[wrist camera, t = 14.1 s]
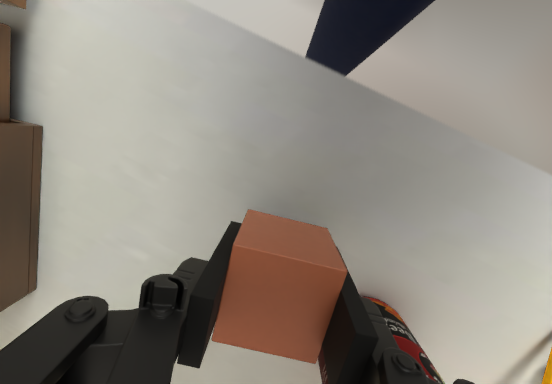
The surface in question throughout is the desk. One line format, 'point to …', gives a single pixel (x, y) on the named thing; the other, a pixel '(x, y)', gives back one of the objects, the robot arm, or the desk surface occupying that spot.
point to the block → (279, 287)
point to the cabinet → (19, 208)
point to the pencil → (548, 371)
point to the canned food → (403, 341)
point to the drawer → (6, 63)
